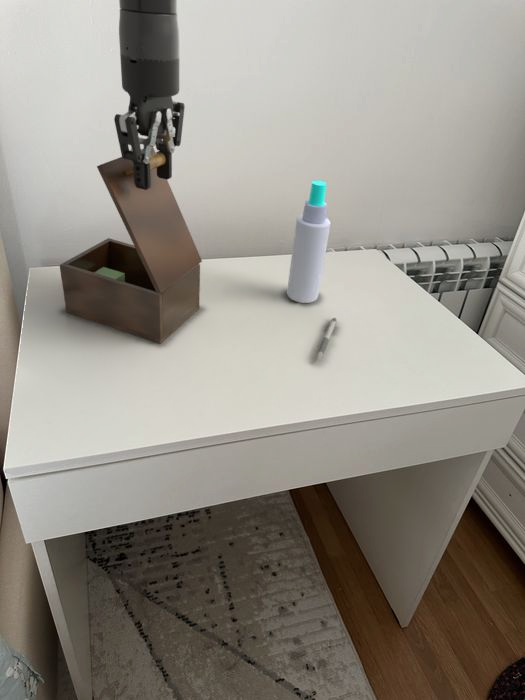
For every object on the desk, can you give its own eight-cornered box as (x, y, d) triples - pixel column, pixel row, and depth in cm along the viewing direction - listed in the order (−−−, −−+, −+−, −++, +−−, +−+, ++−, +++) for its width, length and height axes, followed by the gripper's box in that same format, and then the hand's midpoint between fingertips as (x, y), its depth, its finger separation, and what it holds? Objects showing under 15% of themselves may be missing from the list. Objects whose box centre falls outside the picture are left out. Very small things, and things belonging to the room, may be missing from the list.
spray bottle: (323, 296, 104) (343, 184, 91) (306, 307, 100) (324, 191, 87) (298, 285, 106) (314, 174, 94) (280, 295, 102) (294, 181, 90)
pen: (336, 323, 96) (338, 316, 95) (319, 366, 85) (321, 358, 84) (331, 321, 96) (332, 315, 95) (313, 364, 85) (314, 357, 84)
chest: (66, 311, 91) (59, 264, 86) (112, 281, 101) (108, 237, 96) (160, 344, 86) (159, 296, 81) (199, 308, 96) (200, 264, 91)
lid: (96, 166, 73) (122, 155, 71) (148, 146, 83) (173, 136, 81) (157, 293, 81) (182, 288, 78) (198, 262, 91) (222, 256, 88)
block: (110, 306, 92) (108, 283, 90) (89, 299, 93) (86, 276, 91) (126, 295, 96) (124, 273, 93) (105, 289, 97) (103, 266, 94)
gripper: (155, 44, 75) (158, 166, 85) (90, 52, 64) (102, 190, 74) (202, 52, 73) (200, 176, 83) (143, 61, 62) (148, 202, 72)
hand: (153, 182), depth 79 cm, fingers closed on lid, 5 cm apart
